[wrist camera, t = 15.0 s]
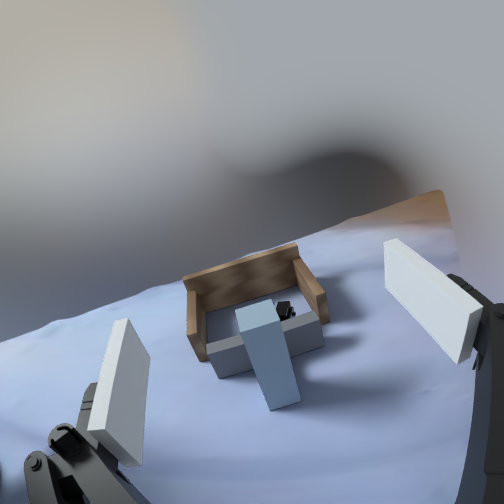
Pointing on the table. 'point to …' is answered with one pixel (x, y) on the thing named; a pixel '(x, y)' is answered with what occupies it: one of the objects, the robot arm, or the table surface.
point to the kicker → (267, 350)
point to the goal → (248, 288)
